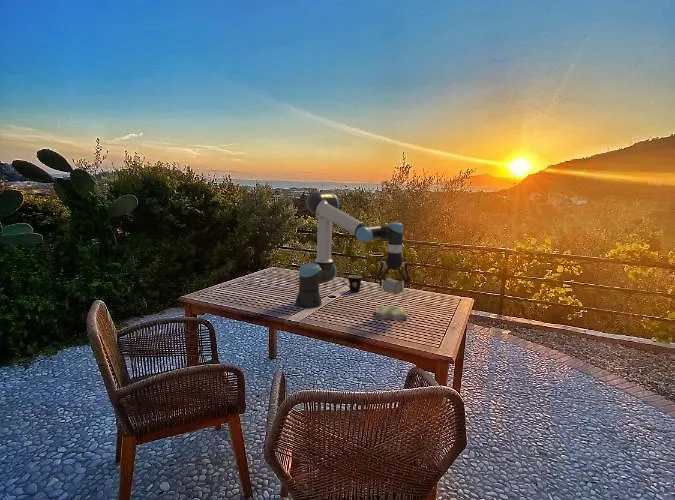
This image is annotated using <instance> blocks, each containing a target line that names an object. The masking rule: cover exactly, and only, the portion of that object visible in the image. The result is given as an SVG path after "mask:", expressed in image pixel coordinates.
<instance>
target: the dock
mask: <svg viewBox="0 0 675 500" xmlns="http://www.w3.org/2000/svg"><path fill="white" fill-rule="evenodd" d="M375 318H376V319H382V320H396V321H407V320H408V314H407V311H406V308H405V307H398V306H396V307H395V306H394V307H393V306H380V305H376V306H375Z"/></svg>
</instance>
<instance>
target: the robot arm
mask: <svg viewBox="0 0 675 500" xmlns="http://www.w3.org/2000/svg"><path fill="white" fill-rule="evenodd" d="M305 205H306V208H307V209H308V211H309V212H311V214H314V215H315V217H317V233H316V234H317V237H316V238H317V241H316V242H317V244H316V258H315V259H314V262H309V263H307V262H306V263H304V264H302V265H300V266H299V270H298V271H299V272H298V292H297V295H296V298H295V306H296V307H298V308H305V309H314V308H313V307H315V308H319V307H320V305H321V306H322V301H323V300H322V298H321V297H322V296H321V294H320V285H321V284H324V283H328V282H331V281H332V280H334V279H335V278H336V276H337V273H338V271H337V270H338V269H337V267H336V265H335V263H334V260H333V258H332V241H333V240H332V239H333V237H332V236H333V224H335V225H337V226H338V227H340V228H342V229H344V230H345V231H347V232H349V233H350V234H352V235H353V236H355V237H356V239H357V241H359V242H362V243H365V242H370V241H376V240H386V241H387V254H386V261H383V260H381V261H380V266H379V270H378V272H377V274H376V280H378V281H379V287H381V288H380V293H382V294H383V292H384V290H383V283H384V277H385V276H387V274H388V272H390V270H391V271H393V270H398V272H399V274H400V276H401V278H402V282H401V284H402V292H401V294H402V295H404V291H405V288H407V282H410V281H411V279H410V274H409V269H408V263H407V261H406V262H402V256H403V253H402V251H403V239H404V237H403V236H404V224H403V223H402V222H389V223H388V225H381V224H379V225H378V224H370V225H367V224H365V223H363V222H362V221H360V220H358V219H356V218H355V217H352V216H351V215H350V214H347V213H345V212H344V211H342V210H340V209H339V207H340V200H339V198H338V196H337V195H336V194H335V193H333V192H328V191H326V192H325V191H324V192H323V191H321V192H320V191H314V192H311V193H310V194H308V196H307V198H306V201H305ZM385 265H386V266H387V267H386V268H385V270H384V272H382V271H383V268H384V266H385ZM402 266H403V267H404V272H405V275H404V273H403V271H402V270H401V268H400V267H402ZM381 273H382V274H381ZM405 276H406V277H405ZM318 306H319V307H318ZM311 307H312V308H311Z"/></svg>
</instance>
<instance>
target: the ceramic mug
mask: <svg viewBox="0 0 675 500" xmlns="http://www.w3.org/2000/svg"><path fill="white" fill-rule="evenodd" d="M383 292H385V293H387V294H388V293H390V294H393V295H399V294H400V293H402V282H401V281H398V280H396V279H394V278H393V279H392V278H390V277H387V278H386V279H384V280H383Z"/></svg>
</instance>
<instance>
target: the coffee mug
mask: <svg viewBox="0 0 675 500" xmlns="http://www.w3.org/2000/svg"><path fill="white" fill-rule="evenodd" d="M362 279H363V276H362V275H357V274H353V275H352V274H351V275H348V277H345V278H343V280H342V281H343V283H344V284H345V285H346V286H348V288H349V292H351V293H360V291H361V285H362ZM345 280H348V282H349V283H348V284H347V283H346V281H345Z"/></svg>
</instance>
